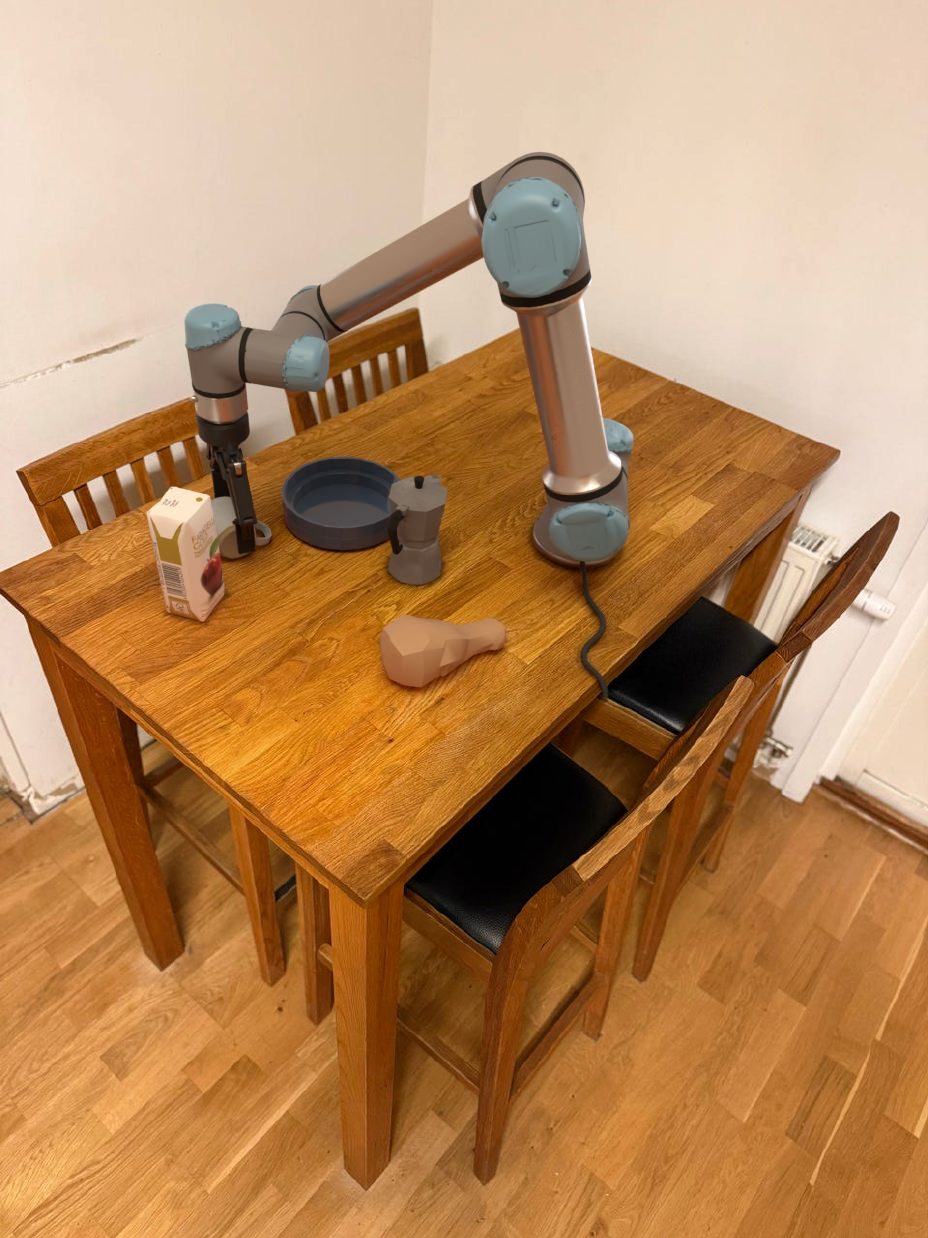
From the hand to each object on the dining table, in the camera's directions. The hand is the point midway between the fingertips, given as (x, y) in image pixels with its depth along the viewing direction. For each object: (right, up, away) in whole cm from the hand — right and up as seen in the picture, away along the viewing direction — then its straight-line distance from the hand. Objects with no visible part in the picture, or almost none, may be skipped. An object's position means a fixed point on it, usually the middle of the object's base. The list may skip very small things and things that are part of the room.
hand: (235, 526), depth 145 cm
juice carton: (-4, -13, -9) cm, 16 cm away
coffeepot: (+29, -8, +1) cm, 30 cm away
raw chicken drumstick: (+34, -21, -13) cm, 42 cm away
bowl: (+17, +3, +10) cm, 20 cm away
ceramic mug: (0, -3, +3) cm, 4 cm away
